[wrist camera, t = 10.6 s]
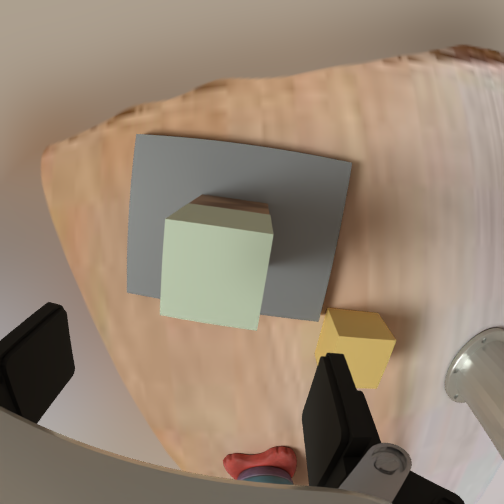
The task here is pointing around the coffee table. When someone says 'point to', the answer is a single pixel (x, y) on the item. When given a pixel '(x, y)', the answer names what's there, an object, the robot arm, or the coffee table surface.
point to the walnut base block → (232, 204)
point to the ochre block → (357, 343)
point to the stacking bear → (263, 466)
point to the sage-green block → (215, 265)
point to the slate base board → (244, 188)
